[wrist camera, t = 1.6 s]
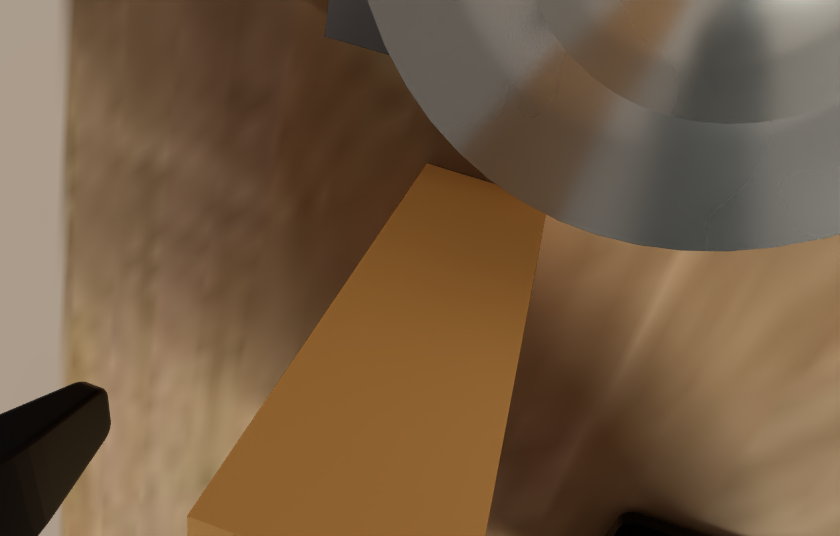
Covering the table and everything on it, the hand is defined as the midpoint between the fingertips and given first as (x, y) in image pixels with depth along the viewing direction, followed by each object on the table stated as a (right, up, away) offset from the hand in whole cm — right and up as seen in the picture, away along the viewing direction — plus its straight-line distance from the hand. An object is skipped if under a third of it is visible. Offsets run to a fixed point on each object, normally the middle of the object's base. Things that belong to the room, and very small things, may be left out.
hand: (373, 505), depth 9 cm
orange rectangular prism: (+2, +4, +6) cm, 8 cm away
